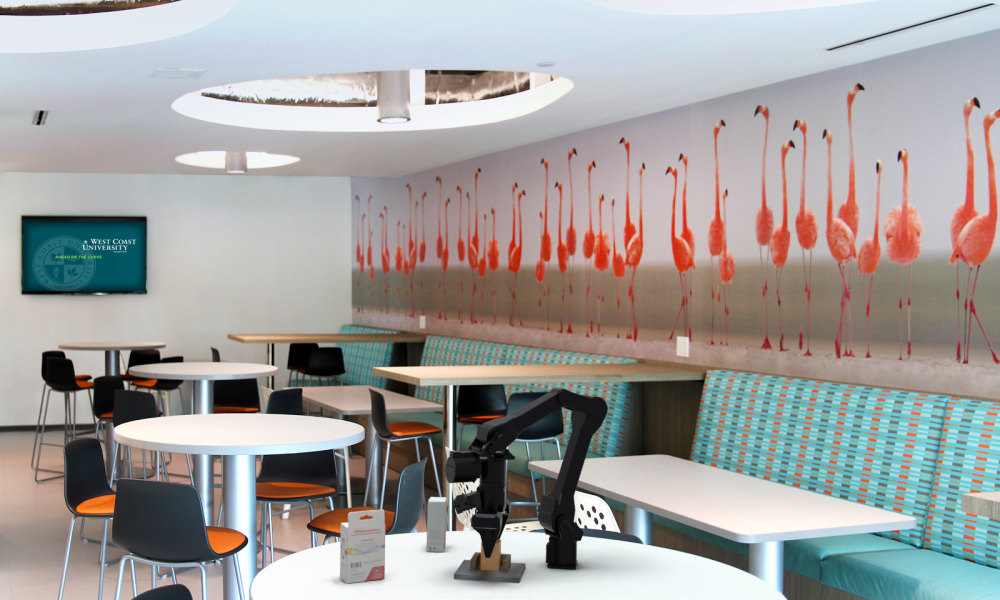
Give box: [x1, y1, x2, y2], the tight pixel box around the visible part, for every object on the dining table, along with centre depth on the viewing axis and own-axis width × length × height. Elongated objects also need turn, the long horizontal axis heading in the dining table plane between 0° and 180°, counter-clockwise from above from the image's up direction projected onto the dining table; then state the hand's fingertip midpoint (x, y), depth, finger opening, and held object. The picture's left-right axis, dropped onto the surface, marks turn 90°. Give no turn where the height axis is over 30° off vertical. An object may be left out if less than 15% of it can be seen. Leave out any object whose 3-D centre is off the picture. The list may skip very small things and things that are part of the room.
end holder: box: [453, 551, 527, 584], centre depth 196 cm, size 14×12×4 cm
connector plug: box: [480, 539, 502, 571], centre depth 196 cm, size 4×3×8 cm
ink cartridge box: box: [339, 509, 386, 584], centre depth 190 cm, size 9×5×15 cm, turn 117°
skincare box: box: [426, 496, 448, 553], centre depth 217 cm, size 6×4×12 cm
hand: (491, 552), depth 196 cm, fingers open, 9 cm apart
